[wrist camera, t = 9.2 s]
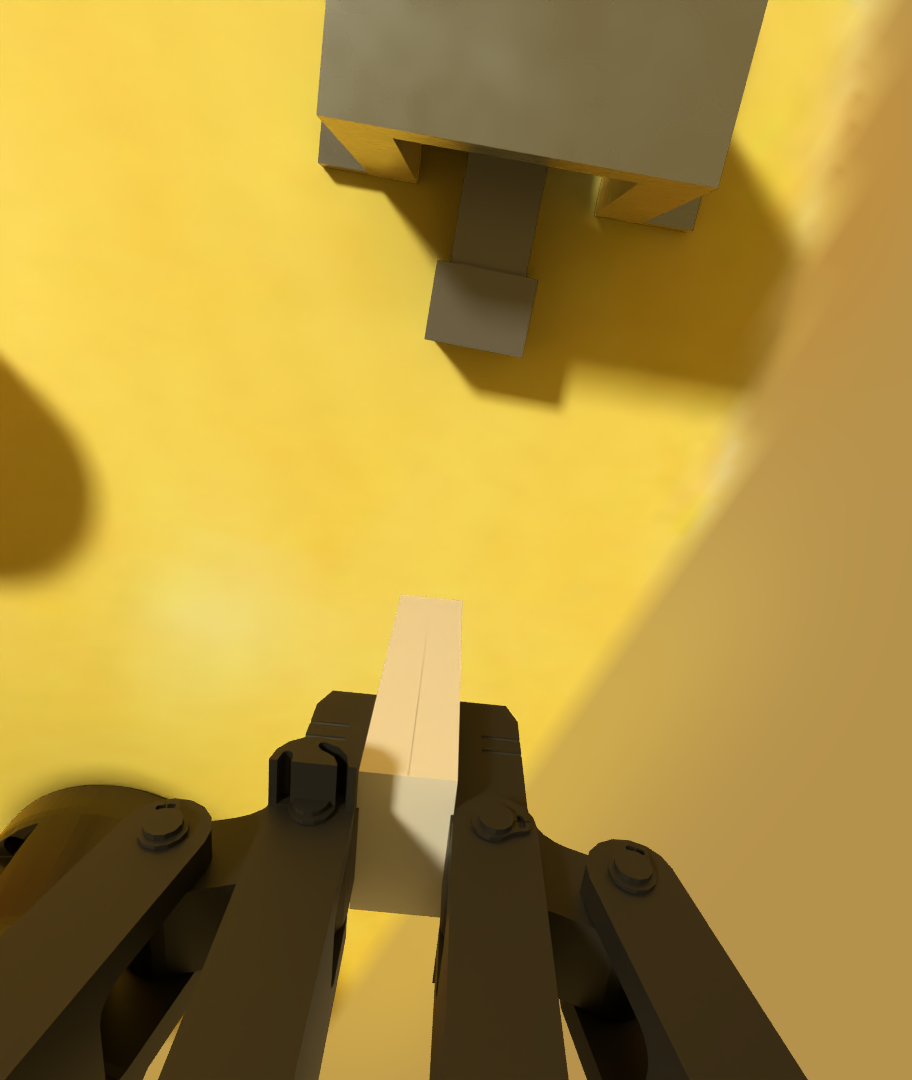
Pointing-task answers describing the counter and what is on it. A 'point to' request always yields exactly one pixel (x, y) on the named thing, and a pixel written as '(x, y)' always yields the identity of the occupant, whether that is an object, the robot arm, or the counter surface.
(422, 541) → the counter surface
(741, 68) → the housing
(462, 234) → the plug
